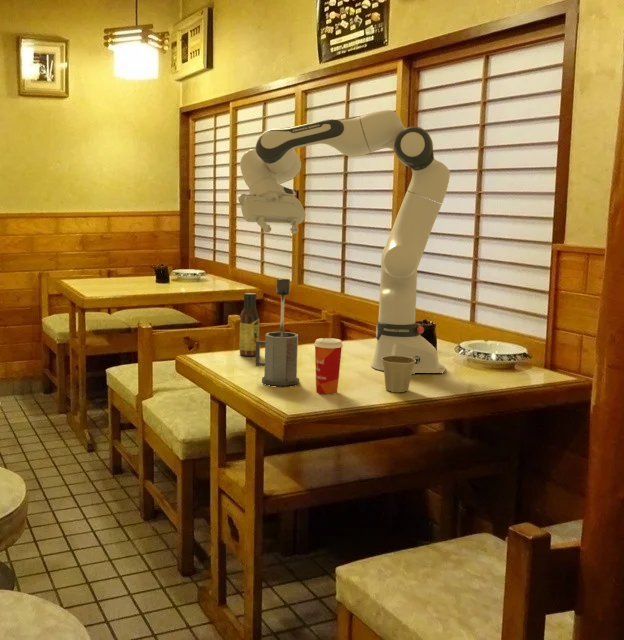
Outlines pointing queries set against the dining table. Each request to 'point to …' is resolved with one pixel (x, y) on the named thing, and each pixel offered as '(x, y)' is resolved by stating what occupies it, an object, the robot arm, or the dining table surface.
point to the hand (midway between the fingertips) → (282, 231)
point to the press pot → (279, 359)
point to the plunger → (282, 298)
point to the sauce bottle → (249, 326)
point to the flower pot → (397, 372)
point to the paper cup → (327, 364)
